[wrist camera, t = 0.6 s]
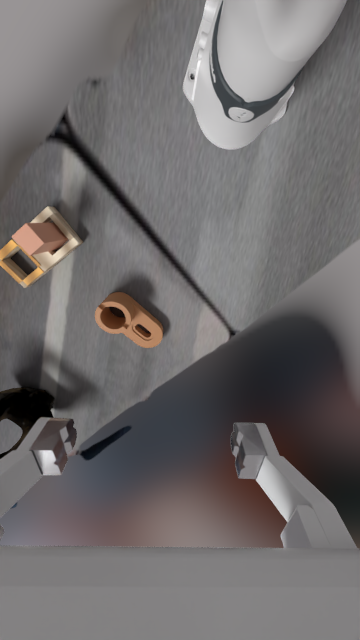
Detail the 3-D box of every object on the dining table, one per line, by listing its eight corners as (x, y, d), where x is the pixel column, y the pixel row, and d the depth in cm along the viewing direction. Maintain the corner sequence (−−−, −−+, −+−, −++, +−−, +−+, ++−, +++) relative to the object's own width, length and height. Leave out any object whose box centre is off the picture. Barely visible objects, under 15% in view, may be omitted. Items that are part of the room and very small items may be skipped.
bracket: (98, 307, 54) (87, 318, 48) (117, 285, 52) (109, 294, 46) (149, 347, 60) (146, 362, 54) (169, 329, 57) (168, 343, 51)
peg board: (54, 206, 44) (47, 206, 41) (83, 242, 47) (78, 243, 45) (1, 255, 48) (-8, 257, 46) (31, 285, 51) (24, 288, 49)
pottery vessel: (-8, 381, 65) (-78, 443, 47) (12, 364, 62) (-55, 423, 44) (57, 423, 74) (19, 489, 56) (77, 410, 71) (43, 474, 53)
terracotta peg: (56, 222, 45) (25, 223, 36) (69, 238, 47) (44, 243, 38) (43, 233, 46) (11, 236, 37) (57, 248, 48) (29, 255, 39)
